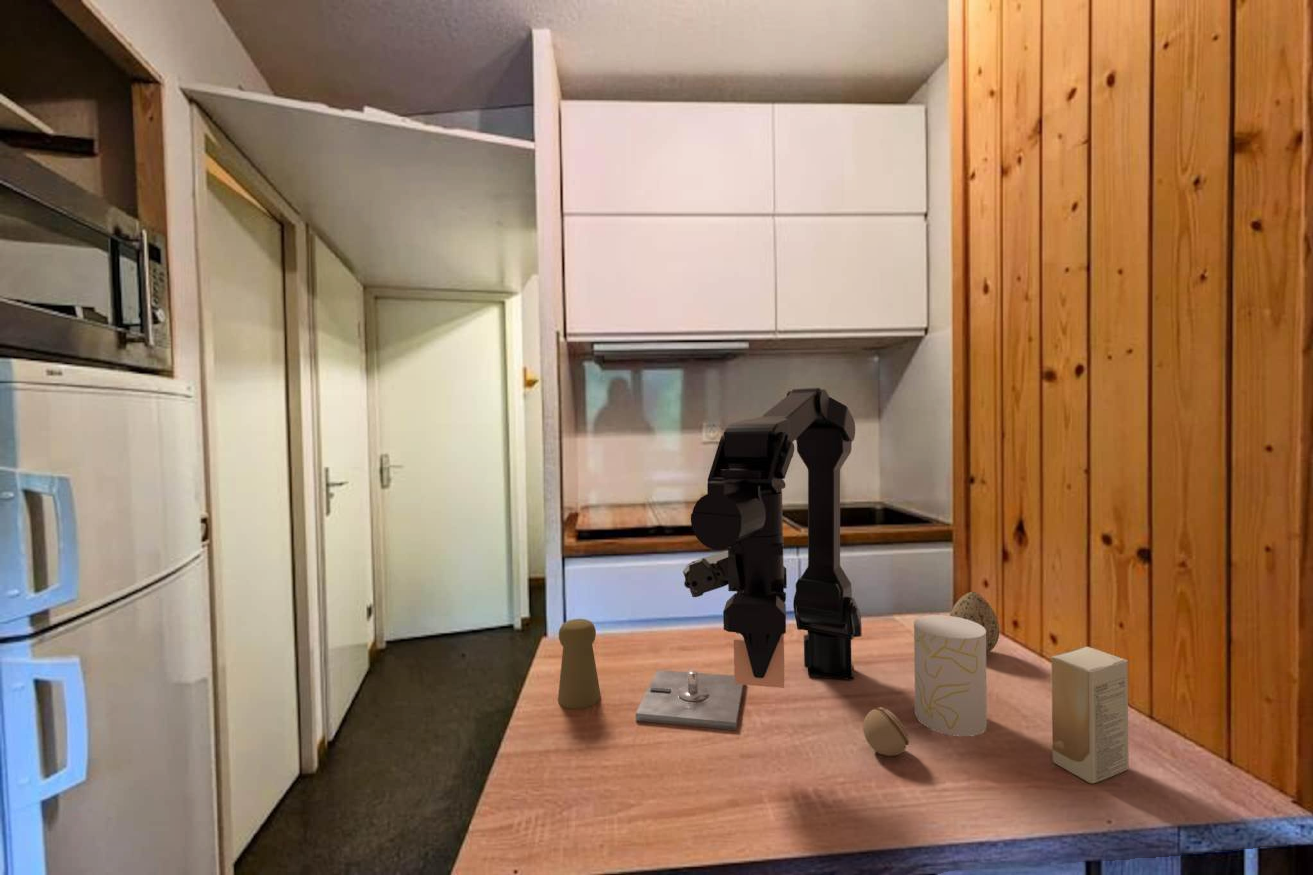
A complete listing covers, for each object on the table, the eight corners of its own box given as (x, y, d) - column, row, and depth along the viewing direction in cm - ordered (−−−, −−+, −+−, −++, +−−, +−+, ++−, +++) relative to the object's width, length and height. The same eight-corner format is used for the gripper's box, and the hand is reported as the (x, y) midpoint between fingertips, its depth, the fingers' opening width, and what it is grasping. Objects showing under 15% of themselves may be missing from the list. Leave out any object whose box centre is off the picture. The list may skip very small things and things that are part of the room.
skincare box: (1088, 749, 66) (1088, 644, 66) (1130, 771, 62) (1131, 659, 62) (1049, 762, 64) (1048, 654, 63) (1090, 785, 60) (1090, 670, 59)
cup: (905, 721, 73) (904, 628, 73) (927, 697, 79) (926, 610, 79) (976, 744, 68) (975, 643, 67) (994, 716, 74) (993, 624, 73)
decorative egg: (1003, 651, 93) (1003, 590, 93) (994, 666, 88) (994, 602, 87) (955, 641, 98) (954, 583, 97) (943, 655, 92) (943, 593, 92)
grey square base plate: (744, 682, 85) (743, 656, 85) (735, 730, 72) (735, 698, 72) (658, 676, 88) (657, 650, 88) (635, 720, 75) (634, 690, 75)
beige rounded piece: (906, 770, 63) (905, 725, 63) (859, 757, 66) (858, 714, 66) (912, 747, 68) (912, 705, 67) (868, 736, 70) (867, 695, 70)
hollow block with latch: (784, 666, 68) (783, 622, 68) (783, 687, 63) (783, 640, 63) (738, 663, 70) (737, 620, 70) (734, 684, 64) (733, 637, 64)
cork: (593, 710, 78) (590, 630, 78) (551, 707, 79) (548, 628, 79) (606, 689, 84) (603, 615, 84) (566, 686, 85) (564, 613, 85)
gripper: (700, 517, 77) (702, 632, 77) (672, 548, 59) (676, 699, 59) (785, 518, 74) (787, 637, 75) (784, 551, 56) (787, 708, 57)
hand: (760, 666), depth 66 cm, fingers closed on hollow block with latch, 5 cm apart
